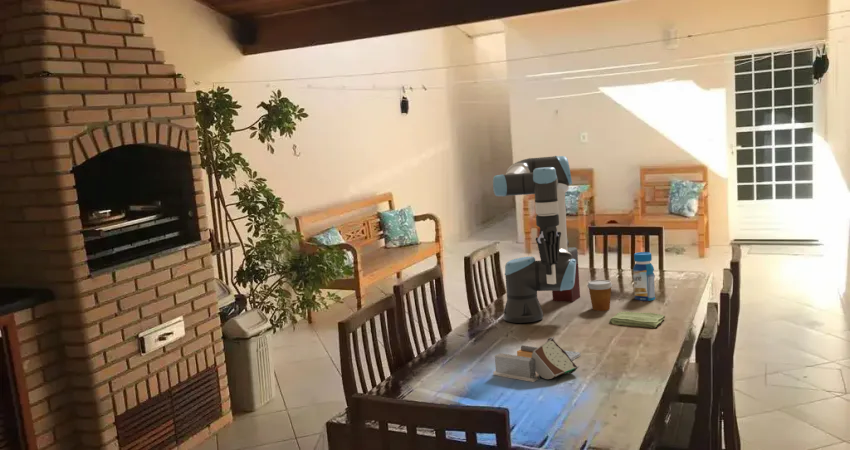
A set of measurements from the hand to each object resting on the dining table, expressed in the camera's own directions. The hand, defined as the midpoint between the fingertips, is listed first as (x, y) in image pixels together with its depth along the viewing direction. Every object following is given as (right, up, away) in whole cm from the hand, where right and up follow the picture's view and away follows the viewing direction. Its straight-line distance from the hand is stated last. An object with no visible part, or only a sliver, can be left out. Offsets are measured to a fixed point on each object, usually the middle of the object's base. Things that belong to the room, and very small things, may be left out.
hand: (551, 283), depth 234 cm
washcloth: (+35, -17, +21) cm, 44 cm away
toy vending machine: (+18, -14, +60) cm, 64 cm away
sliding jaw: (-7, -22, -19) cm, 30 cm away
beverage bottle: (+48, -12, +52) cm, 72 cm away
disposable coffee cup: (+27, -15, +40) cm, 51 cm away
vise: (-8, -24, -19) cm, 31 cm away
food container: (-9, -22, -33) cm, 41 cm away
